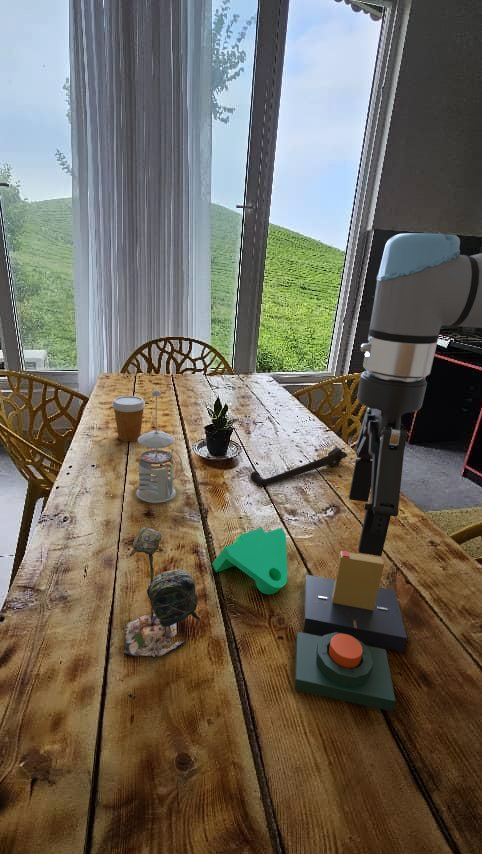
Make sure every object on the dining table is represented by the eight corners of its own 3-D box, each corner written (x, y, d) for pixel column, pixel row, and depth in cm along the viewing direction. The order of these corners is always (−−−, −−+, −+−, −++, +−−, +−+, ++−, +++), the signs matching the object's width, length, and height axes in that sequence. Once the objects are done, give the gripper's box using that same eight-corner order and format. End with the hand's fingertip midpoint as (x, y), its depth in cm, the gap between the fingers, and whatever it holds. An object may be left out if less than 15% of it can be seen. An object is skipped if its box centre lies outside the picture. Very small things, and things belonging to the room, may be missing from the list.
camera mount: (207, 560, 79) (234, 616, 74) (222, 540, 73) (251, 599, 68) (261, 541, 84) (289, 592, 79) (278, 522, 79) (309, 575, 74)
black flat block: (391, 604, 72) (395, 588, 71) (402, 654, 63) (407, 637, 62) (303, 588, 75) (306, 573, 74) (302, 634, 66) (305, 617, 65)
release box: (382, 660, 62) (388, 639, 60) (392, 713, 55) (399, 690, 53) (295, 643, 64) (298, 621, 63) (293, 691, 57) (297, 668, 55)
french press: (154, 480, 109) (154, 381, 100) (192, 495, 103) (196, 391, 93) (125, 495, 101) (122, 390, 92) (164, 512, 95) (166, 401, 86)
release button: (358, 646, 59) (361, 636, 59) (361, 671, 56) (364, 661, 55) (328, 640, 60) (330, 630, 60) (329, 664, 57) (331, 654, 56)
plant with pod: (200, 662, 60) (207, 539, 53) (117, 659, 60) (112, 535, 53) (201, 617, 68) (207, 504, 61) (127, 614, 68) (124, 500, 60)
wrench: (248, 484, 112) (334, 455, 126) (260, 494, 108) (347, 463, 122) (249, 467, 110) (337, 439, 123) (261, 476, 106) (350, 447, 120)
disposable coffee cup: (136, 446, 127) (136, 407, 123) (107, 441, 130) (105, 402, 126) (150, 435, 136) (150, 397, 131) (122, 430, 139) (121, 393, 134)
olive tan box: (372, 603, 68) (383, 556, 65) (373, 610, 67) (384, 563, 63) (331, 595, 69) (340, 549, 66) (332, 603, 68) (341, 555, 64)
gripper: (352, 352, 66) (331, 479, 74) (376, 399, 43) (341, 576, 51) (406, 356, 64) (378, 485, 72) (460, 408, 42) (411, 588, 49)
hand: (363, 523), depth 62 cm, fingers open, 13 cm apart
